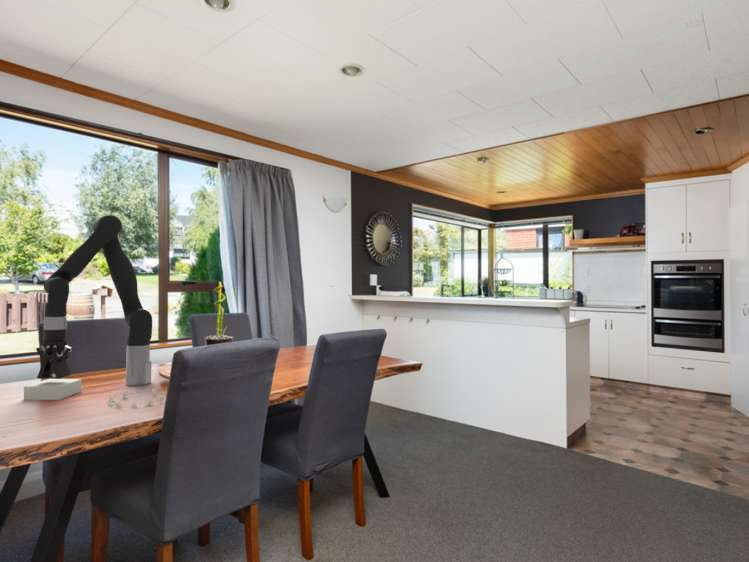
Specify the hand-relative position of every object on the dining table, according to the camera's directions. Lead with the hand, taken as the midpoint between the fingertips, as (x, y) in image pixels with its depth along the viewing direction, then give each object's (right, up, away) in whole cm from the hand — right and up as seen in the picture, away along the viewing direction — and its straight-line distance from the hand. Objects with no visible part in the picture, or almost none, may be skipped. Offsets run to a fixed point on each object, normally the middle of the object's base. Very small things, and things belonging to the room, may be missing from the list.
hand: (54, 371), depth 179 cm
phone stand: (0, -2, 0) cm, 2 cm away
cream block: (0, -9, 0) cm, 9 cm away
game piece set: (+36, -10, -7) cm, 38 cm away
